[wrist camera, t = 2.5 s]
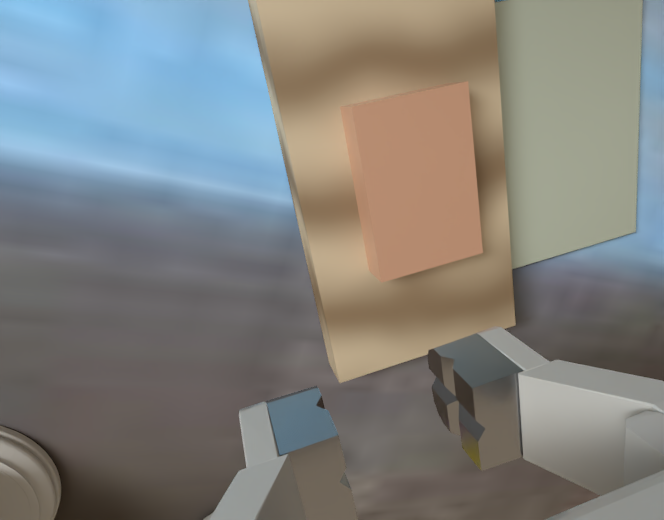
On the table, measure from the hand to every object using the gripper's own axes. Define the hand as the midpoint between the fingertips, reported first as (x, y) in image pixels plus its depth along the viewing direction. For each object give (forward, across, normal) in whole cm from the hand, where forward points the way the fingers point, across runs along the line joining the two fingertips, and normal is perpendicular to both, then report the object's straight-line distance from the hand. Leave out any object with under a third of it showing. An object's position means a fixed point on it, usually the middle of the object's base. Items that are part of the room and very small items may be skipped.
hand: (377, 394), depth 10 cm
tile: (+17, -8, 0) cm, 19 cm away
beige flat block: (+19, -8, 0) cm, 21 cm away
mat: (+19, -20, 0) cm, 27 cm away
